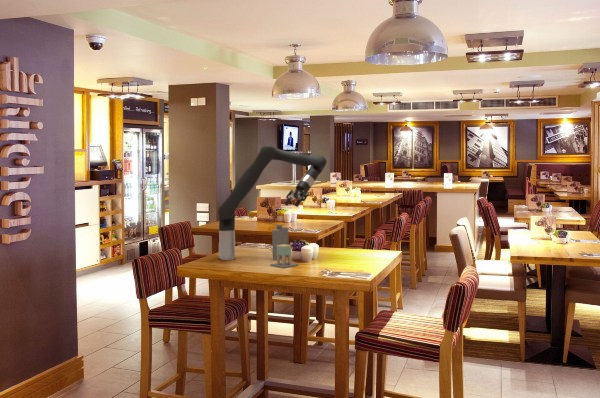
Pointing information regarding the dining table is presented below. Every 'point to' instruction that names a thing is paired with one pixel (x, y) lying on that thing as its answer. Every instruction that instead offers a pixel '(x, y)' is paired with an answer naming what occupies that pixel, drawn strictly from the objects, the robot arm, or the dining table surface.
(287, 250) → the stool
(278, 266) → the slate mat
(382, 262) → the dining table surface
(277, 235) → the hip flask
